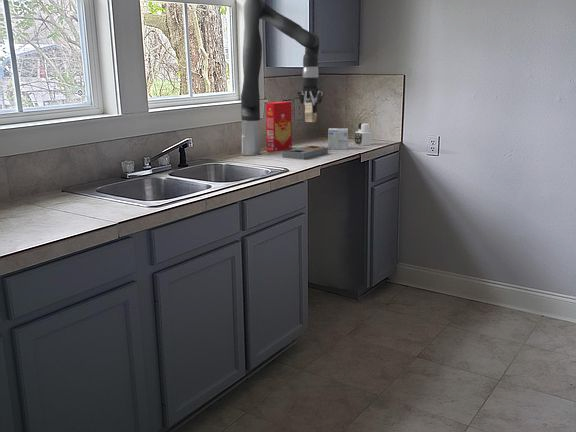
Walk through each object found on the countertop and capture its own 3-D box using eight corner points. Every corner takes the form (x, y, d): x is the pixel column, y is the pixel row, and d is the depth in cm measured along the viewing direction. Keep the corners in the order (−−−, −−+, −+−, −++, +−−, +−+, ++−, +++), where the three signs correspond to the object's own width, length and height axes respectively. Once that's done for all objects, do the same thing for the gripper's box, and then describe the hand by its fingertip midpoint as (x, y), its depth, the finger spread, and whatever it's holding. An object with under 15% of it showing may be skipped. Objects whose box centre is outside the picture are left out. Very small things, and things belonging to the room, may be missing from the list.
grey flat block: (303, 161, 276) (303, 152, 275) (282, 159, 283) (282, 150, 281) (327, 155, 293) (328, 146, 292) (307, 153, 300) (307, 145, 299)
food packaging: (274, 152, 303) (274, 103, 296) (266, 151, 306) (265, 103, 300) (291, 149, 314) (291, 101, 308) (283, 148, 317) (283, 101, 311)
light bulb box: (347, 147, 318) (348, 128, 316) (347, 149, 312) (348, 129, 309) (328, 147, 319) (328, 127, 317) (327, 149, 313) (328, 129, 310)
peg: (311, 122, 284) (311, 103, 281) (304, 121, 286) (304, 102, 283) (316, 121, 287) (316, 102, 284) (309, 120, 289) (309, 102, 287)
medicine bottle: (354, 144, 332) (355, 122, 329) (365, 143, 335) (366, 122, 332) (361, 145, 326) (361, 124, 323) (372, 145, 329) (372, 123, 325)
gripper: (327, 76, 280) (327, 112, 284) (302, 76, 288) (302, 111, 292) (318, 76, 274) (318, 114, 278) (293, 76, 282) (294, 112, 286)
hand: (310, 112), depth 285 cm, fingers closed on peg, 4 cm apart
